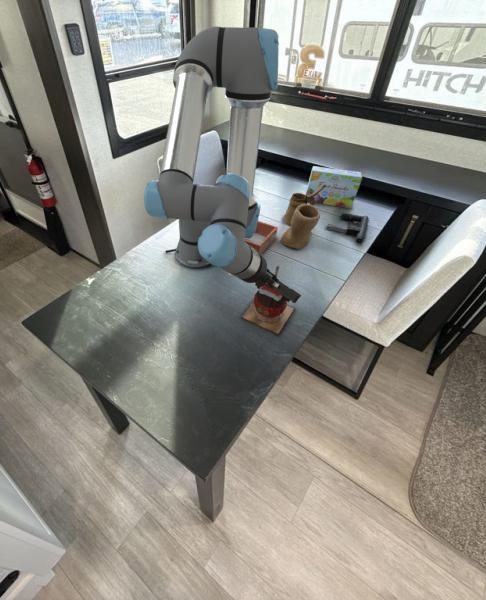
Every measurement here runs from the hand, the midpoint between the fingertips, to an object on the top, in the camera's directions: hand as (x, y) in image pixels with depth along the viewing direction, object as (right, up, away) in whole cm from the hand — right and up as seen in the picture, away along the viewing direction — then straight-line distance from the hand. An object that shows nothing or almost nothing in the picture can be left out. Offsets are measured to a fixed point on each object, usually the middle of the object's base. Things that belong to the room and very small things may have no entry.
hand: (279, 285), depth 90 cm
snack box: (+36, +42, +58) cm, 80 cm away
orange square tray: (-3, +19, +34) cm, 39 cm away
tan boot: (+15, +19, +35) cm, 43 cm away
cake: (-2, -8, +6) cm, 10 cm away
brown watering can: (+19, +30, +45) cm, 57 cm away
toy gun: (+38, +26, +42) cm, 62 cm away
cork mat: (-2, -8, +6) cm, 11 cm away
